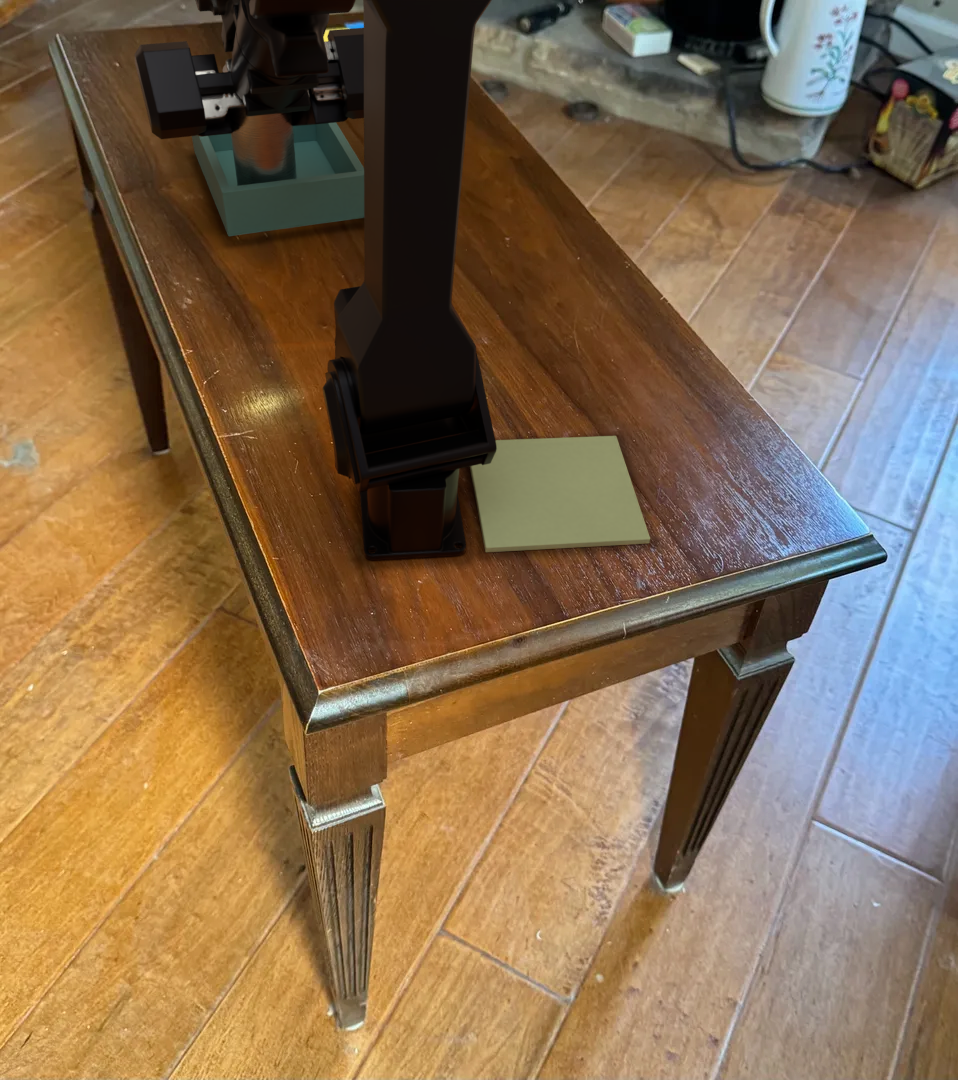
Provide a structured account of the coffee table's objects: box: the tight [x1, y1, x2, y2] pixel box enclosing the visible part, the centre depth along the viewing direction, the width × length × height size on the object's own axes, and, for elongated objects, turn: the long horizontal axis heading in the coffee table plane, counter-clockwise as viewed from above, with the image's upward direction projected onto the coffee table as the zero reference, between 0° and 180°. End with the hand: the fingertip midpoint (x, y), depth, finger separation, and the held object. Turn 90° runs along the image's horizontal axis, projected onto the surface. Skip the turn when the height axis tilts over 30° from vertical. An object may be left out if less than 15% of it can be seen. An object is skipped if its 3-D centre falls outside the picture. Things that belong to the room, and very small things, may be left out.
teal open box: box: [191, 122, 364, 237], centre depth 87 cm, size 16×13×5 cm
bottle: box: [222, 63, 297, 186], centre depth 80 cm, size 5×5×12 cm
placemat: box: [469, 435, 651, 553], centre depth 65 cm, size 10×11×1 cm
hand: (258, 123), depth 81 cm, fingers closed on bottle, 5 cm apart
